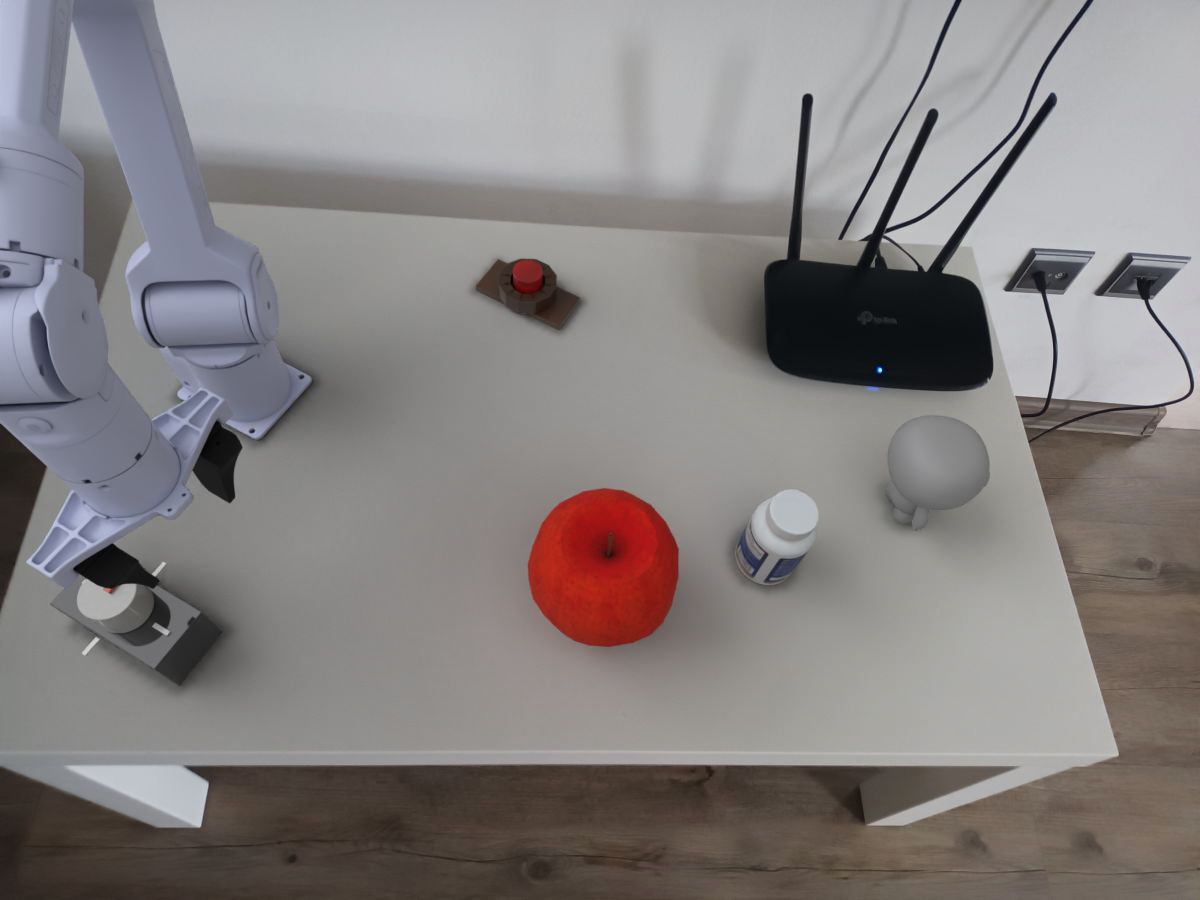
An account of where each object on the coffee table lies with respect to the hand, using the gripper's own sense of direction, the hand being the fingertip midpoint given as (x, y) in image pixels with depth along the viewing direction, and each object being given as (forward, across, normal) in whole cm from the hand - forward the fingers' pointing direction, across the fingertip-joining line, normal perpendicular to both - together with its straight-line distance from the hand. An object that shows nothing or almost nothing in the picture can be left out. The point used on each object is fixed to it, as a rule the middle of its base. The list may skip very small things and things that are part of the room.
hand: (185, 535), depth 58 cm
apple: (+10, +14, -27) cm, 32 cm away
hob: (+10, -6, +3) cm, 12 cm away
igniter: (+10, +40, -5) cm, 41 cm away
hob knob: (+5, -6, +3) cm, 8 cm away
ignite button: (+8, +40, -5) cm, 41 cm away
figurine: (+10, +36, -47) cm, 60 cm away
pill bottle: (+10, +25, -38) cm, 47 cm away
